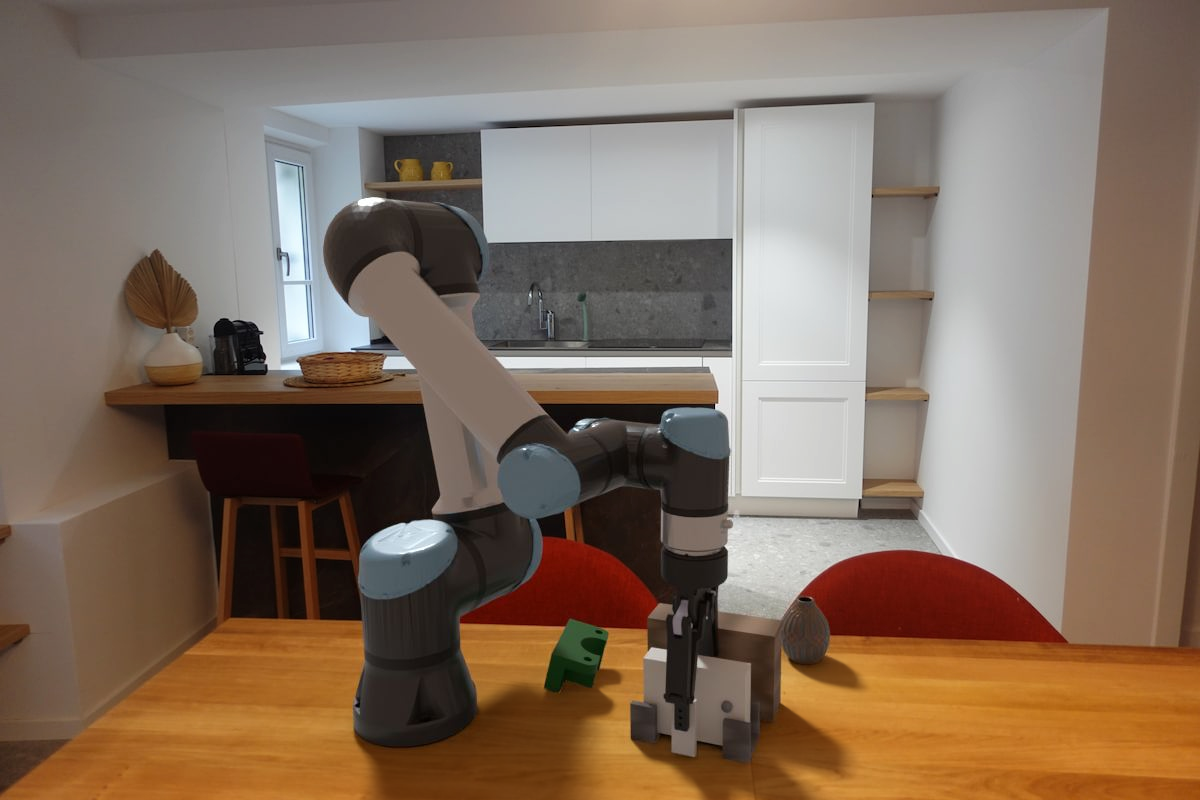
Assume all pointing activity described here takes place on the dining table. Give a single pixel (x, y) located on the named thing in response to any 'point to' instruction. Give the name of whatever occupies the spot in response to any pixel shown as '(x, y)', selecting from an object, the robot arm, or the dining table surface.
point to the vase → (805, 632)
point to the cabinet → (735, 642)
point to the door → (702, 693)
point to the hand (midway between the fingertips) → (692, 736)
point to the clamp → (576, 656)
